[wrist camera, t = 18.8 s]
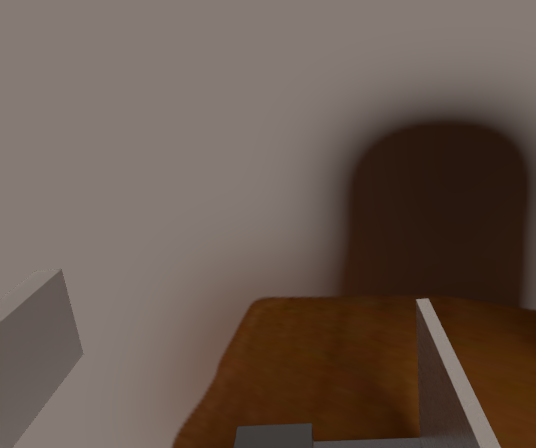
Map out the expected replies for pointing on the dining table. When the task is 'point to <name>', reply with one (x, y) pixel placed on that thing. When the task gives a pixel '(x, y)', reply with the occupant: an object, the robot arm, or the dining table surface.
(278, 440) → the lever
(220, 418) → the dining table surface
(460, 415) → the l-shaped metal bracket
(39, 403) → the robot arm
